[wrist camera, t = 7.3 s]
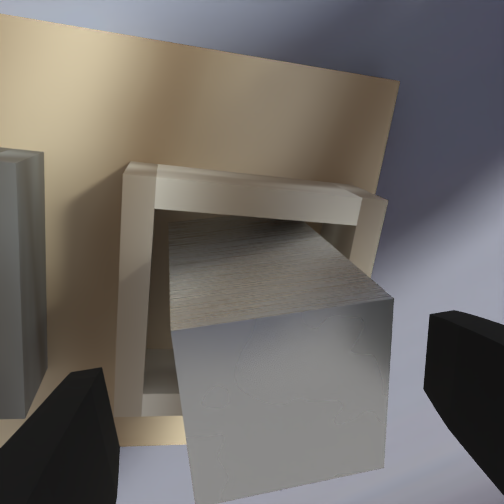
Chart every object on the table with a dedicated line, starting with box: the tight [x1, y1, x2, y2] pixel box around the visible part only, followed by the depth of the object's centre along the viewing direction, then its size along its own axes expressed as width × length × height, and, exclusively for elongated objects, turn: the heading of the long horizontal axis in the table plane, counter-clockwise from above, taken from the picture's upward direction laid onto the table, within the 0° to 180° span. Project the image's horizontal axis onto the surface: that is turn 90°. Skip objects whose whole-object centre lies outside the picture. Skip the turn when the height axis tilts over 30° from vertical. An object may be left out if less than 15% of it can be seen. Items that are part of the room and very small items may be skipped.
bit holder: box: [0, 14, 400, 448], centre depth 13 cm, size 16×14×4 cm
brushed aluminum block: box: [168, 215, 394, 504], centre depth 11 cm, size 4×4×7 cm
